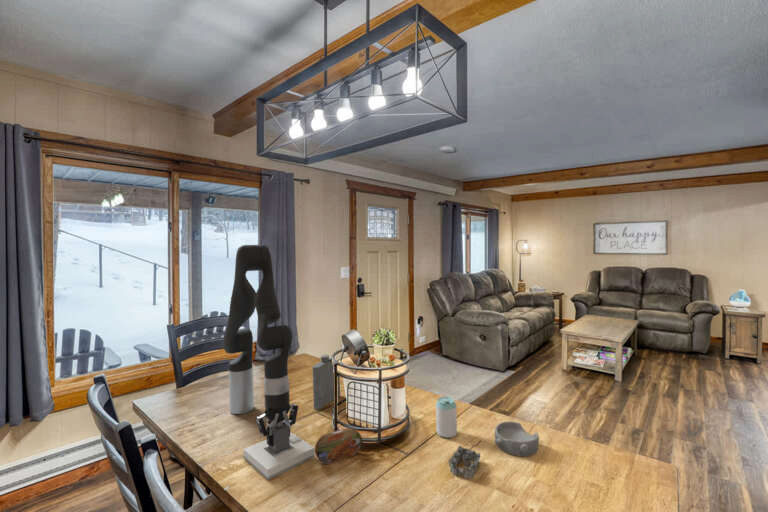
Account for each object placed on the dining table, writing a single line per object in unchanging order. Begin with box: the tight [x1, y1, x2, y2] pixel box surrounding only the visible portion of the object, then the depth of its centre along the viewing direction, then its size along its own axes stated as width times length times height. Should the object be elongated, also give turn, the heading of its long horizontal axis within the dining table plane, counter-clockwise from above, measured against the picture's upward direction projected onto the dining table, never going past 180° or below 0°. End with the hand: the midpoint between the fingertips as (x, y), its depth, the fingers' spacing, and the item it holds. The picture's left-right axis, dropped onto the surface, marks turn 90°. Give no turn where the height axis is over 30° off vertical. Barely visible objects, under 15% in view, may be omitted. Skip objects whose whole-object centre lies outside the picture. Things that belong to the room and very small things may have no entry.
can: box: [435, 396, 458, 439], centre depth 131 cm, size 7×7×12 cm
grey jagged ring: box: [448, 445, 481, 480], centre depth 111 cm, size 11×8×4 cm
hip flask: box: [312, 354, 341, 411], centre depth 160 cm, size 16×4×20 cm, turn 150°
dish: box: [494, 421, 540, 457], centre depth 122 cm, size 14×14×5 cm
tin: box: [314, 427, 363, 465], centre depth 118 cm, size 15×3×8 cm, turn 117°
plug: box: [268, 421, 290, 454], centre depth 119 cm, size 5×5×9 cm
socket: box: [242, 431, 316, 481], centre depth 119 cm, size 16×16×4 cm
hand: (278, 442), depth 119 cm, fingers closed on plug, 4 cm apart
